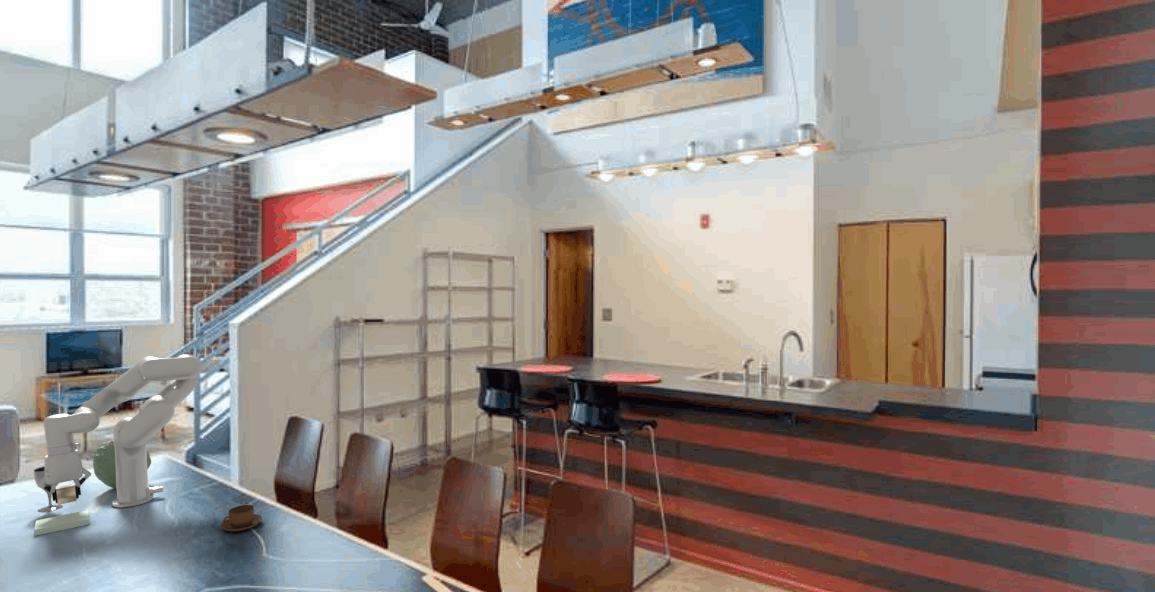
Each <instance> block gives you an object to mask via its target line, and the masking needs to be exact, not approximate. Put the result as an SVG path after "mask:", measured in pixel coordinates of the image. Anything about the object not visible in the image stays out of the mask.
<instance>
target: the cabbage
mask: <svg viewBox="0 0 1155 592" xmlns="http://www.w3.org/2000/svg"><path fill="white" fill-rule="evenodd" d="M146 451H147V471H148V470H149V468H150V467H151V465H152V459H151V455H150V453H149V452H148V450H147V449H146ZM91 458H92V459H93V461H92V466H93V472H94V474H95V477H96V479H98V480H99V481H100V482H102V483H103V484H104V485H105V486H107V487H110V488H113V489H117V487H116V466H115V448H114V439H112V440H109V441H108V440H107V441H106V442H104V441H103V442H102V443H99V445H98V448H96V451H94V452H93V456H91Z"/></svg>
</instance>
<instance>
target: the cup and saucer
mask: <svg viewBox="0 0 1155 592" xmlns="http://www.w3.org/2000/svg"><path fill="white" fill-rule="evenodd" d="M254 510H255V508H254V505H252V504H242V505H238V506H234V507H231V508H230V509H229V510H228V515H226V516H225V517H224V518H223V519H222V523H221V524H220V527H221V529H223V531H227V532H243V531H246V530H249V529H252V528H254V527H257V526H258V525H259V524H260V523H261V522H262V521H263V520H262V519H263V517H262V516H261V515H259V514H255V511H254Z"/></svg>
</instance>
